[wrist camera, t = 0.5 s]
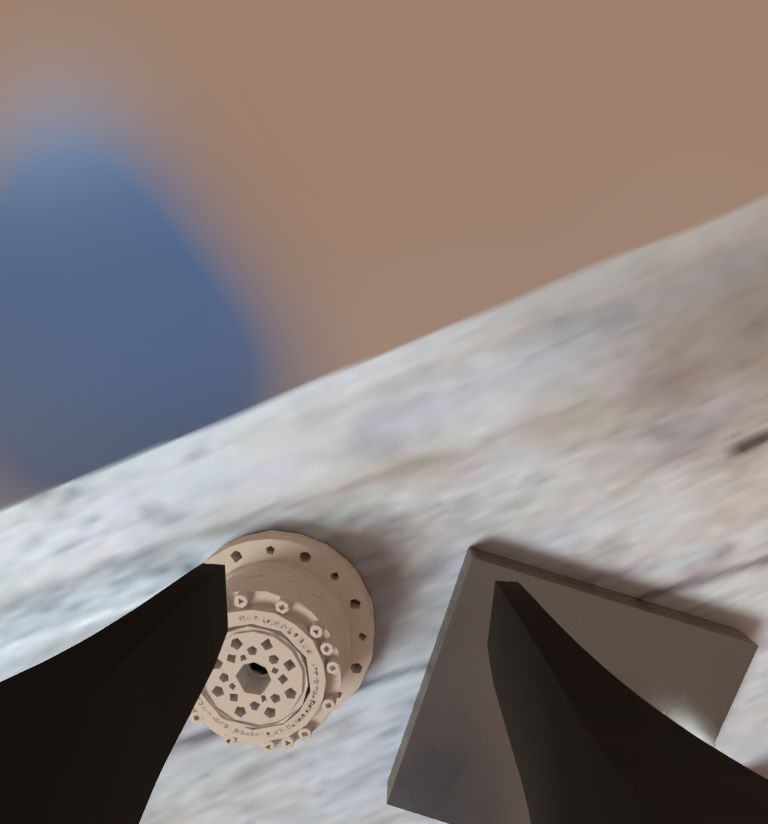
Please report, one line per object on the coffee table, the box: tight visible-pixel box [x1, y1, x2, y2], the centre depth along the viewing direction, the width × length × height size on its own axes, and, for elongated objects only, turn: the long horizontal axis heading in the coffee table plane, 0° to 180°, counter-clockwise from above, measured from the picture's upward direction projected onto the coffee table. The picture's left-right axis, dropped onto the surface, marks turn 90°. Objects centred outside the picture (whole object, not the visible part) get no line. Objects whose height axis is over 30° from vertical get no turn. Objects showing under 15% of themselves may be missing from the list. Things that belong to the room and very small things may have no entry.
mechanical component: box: [190, 530, 375, 752], centre depth 21 cm, size 10×4×10 cm
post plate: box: [387, 547, 758, 824], centre depth 21 cm, size 14×14×4 cm
